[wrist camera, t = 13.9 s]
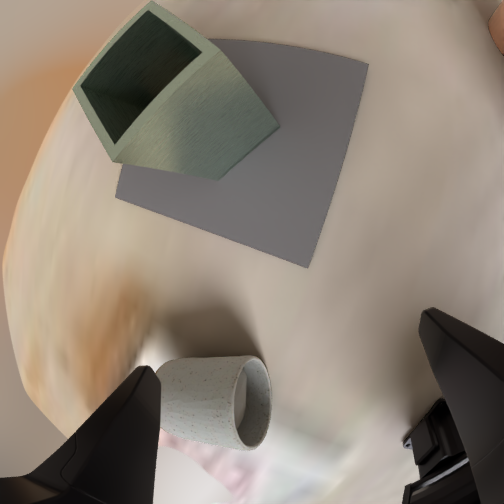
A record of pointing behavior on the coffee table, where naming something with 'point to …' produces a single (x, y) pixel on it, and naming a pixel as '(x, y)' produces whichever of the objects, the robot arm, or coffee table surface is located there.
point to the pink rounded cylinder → (498, 27)
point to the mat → (269, 155)
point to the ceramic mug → (216, 400)
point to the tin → (171, 99)
